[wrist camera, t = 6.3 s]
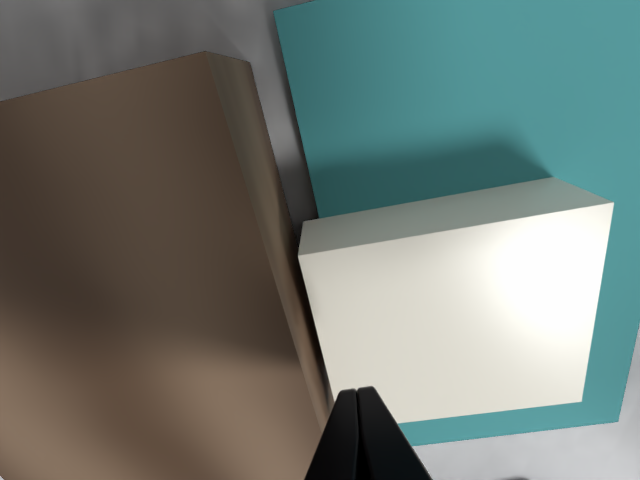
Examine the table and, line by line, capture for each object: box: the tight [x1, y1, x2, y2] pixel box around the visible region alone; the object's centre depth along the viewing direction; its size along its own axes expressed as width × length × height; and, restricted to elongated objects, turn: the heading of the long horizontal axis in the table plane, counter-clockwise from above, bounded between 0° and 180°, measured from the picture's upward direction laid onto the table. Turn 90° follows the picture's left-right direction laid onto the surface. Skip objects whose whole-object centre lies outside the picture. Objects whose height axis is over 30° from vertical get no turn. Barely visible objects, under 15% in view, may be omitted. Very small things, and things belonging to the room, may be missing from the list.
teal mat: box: [273, 0, 640, 446], centre depth 12 cm, size 11×18×1 cm, turn 12°
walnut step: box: [0, 51, 335, 480], centre depth 12 cm, size 11×16×4 cm
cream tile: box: [298, 177, 614, 423], centre depth 11 cm, size 8×7×2 cm
